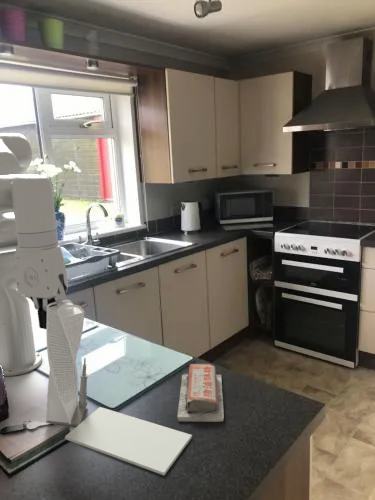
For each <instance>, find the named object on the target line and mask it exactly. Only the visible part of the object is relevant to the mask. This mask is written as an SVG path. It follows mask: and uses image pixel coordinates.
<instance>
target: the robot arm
mask: <svg viewBox="0 0 375 500" xmlns="http://www.w3.org/2000/svg"><path fill="white" fill-rule="evenodd" d="M32 160H33V151H32V146H31V144H30V141H29V140H28V139H27V138H26V137H25V135H23V134H22V133H15V132H13V133H12V132H9V133H8V132H7V133H6V132H4V133H3V132H0V365H1V366H2V369H3V374H4V376H3V377H11V376H12V377H13V376H19V375H23V374H26V373H30V372H32V371H33V370H35V369H36V368H38V367H39V366H40V365H41V364H42V361H43V355H42V354H41V353H40V352H38V351H36V348H35V347H36V346H35V340H34V339H35V338H34V331H33V325H32V324H33V322H32V315H31V314H32V313H31V308H30V307H31V306H30V303H29V300H31V302H32V303H33V306H34V307H33V308H34V309H35V310H37V311H36V312H37V317H38V319H37V320H38V327H39V329H43V330H46V324H47V305H48V304H50V303H53V302H57V304H54V305H51V306H49V307H52V306H56V305H59V304H62V303H65V302H64V301H66V300H68V298H67V296H66V293H67V292H68V288H69V286H68V285H69V281H68V275H67V269H66V268H67V267H66V263H65V257H64V254H63V251H62V248H61V245H59V237H58V229H57V219H56V210H55V201H54V191H53V190H54V189H53V184H52V181H51V179H50V177H48V176H46V175H40V174H36V173H35V174H34V173H27V174H26V171H27V170H28V169H29V167H30V165H31V163H32ZM8 213H13V214H8ZM7 251H8V252H7ZM28 299H29V300H28Z"/></svg>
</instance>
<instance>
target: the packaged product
mask: <svg viewBox="0 0 375 500" xmlns="http://www.w3.org/2000/svg"><path fill="white" fill-rule="evenodd" d="M222 382H223V380H222V374H217V371H216V366H215V365H213V364H211V363H190V364H189V367H188V373H186V372H185V373H182V374H181V383H180V390H179V391H180V392H179V402H178V408H177V415H176V417H177V421H178V422H201V423H202V422H204V423H207V422H208V423H209V422H211V423H212V422H214V423H216V422H217V423H218V422H220V423H221V422H224V418H225V417H224V415H225V414H224V397H223V396H224V395H223V383H222Z"/></svg>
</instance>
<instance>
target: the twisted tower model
mask: <svg viewBox="0 0 375 500" xmlns="http://www.w3.org/2000/svg"><path fill="white" fill-rule="evenodd" d="M54 304H57V302H53V303H50V304H48V305H47V324H46V329H45V331H46V333H45V334H46V352H47V361H48V366H49V373H48V384H47V395H46V396H47V401H46V418H45V419H46V420H45V421H46V424H54V425H64V426H72V427H73V426H74V427H77V426H78V425H79V424H80V423H82V422H83V417H84V415H85V412H86V409H87V406H88V402H87V393H88V389H87V388H88V386H87V385H88V383H87V382H88V373H87V364H86V362H87V361H86V359H87V358H86V357H84V358H83V364H82V373H80V383H79V376H78V367H77V356H78V355H77V354H78V353H79V348H80V345H81V341H82V336H83V328H84V320H85V312H86V311H85V310H84V309H83V307H82V306H80V305H78V304H74V303H73V302H72V300H70V299H67V300H66V301H64V302H62V303H59V304H57V305H56V306H52V307H49V306H51V305H54ZM79 384H80V386H79Z"/></svg>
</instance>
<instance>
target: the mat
mask: <svg viewBox="0 0 375 500" xmlns="http://www.w3.org/2000/svg"><path fill="white" fill-rule="evenodd" d="M192 437H193V434H189V433H187V432H184V431H180V430H178V429H177V430H176V429H174V428H170V427H167V426H164V425H160V424H157V423H154V422H151V421H147V420H144V419H140V418H137V417H135V416H130V415H129V414H128V415H127V414H125V413H121V412H118V411H114V410H112V409H108V408H105V407H101V406H99V407H98V408H97V409H95V410H94V411H93V412H92V413H90V414H89V415H88V416H87V417H86V418H85V419H84V420H82V421H81V423H80V424H79V425H78V426H75V427H74V428H73V429H72V430H71V431H70V432H68V433H67V434H66V435H65V436H64V439H65V440H67V441H69V442H73V443H74V444H77V445H79V446H83V447H86V448H88V449H91V450H93V451H97V452H99V453H102V454H104V455H106V456H107V455H108V456H111V457H113V458H115V459H118V460H120V461H123V462H126V463H129V464H131V465H134V466H137V467H140V468H143V469H144V470H145V469H146V470H148V471H151V472H153V473H157V474H158V475H162V476H165V475H166V474H167V472H168V471H169V469H170V468H171V467H172V466H173V464H174V463H175V461H176V460H177V459H178V457H180V455H181V453H182V452H183V450H184V449H185V448H186V446H187V445H188V444H189V443H190V441H191V440H192V439H193V438H192Z"/></svg>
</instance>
